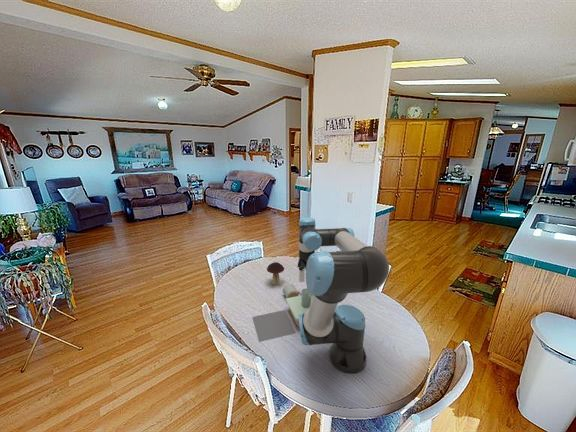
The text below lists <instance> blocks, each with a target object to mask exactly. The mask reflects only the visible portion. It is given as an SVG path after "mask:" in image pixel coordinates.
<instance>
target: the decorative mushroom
mask: <svg viewBox="0 0 576 432" xmlns="http://www.w3.org/2000/svg"><path fill="white" fill-rule="evenodd" d="M266 271H267V273H270V274H272V283H273V285H274V286H275V285H279V283H280V274H281V273H283V272H284V271H285V267H284V265H282V264H281V263H280V262H278V261H277V262H275V261H274V262H272V263H270V264H269V265H268V266H267V267H266Z"/></svg>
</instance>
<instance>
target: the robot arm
mask: <svg viewBox="0 0 576 432" xmlns="http://www.w3.org/2000/svg"><path fill="white" fill-rule="evenodd" d="M321 247H337V248H338V249H339V250H340V251H320V252H316V251H317V250H318V249H320V248H321ZM298 248H299V249H298V262H297V265H296V266H297V268H298V279H299V280H298V282H299V283H303V282H305V285H306V289H308V291H309V297H311V296H312V299H311V304H310V308H309V309H308V310H307V311H306V312H305V313H302V314H299V327H300V328H299V334H300V341H301V343H302V345H303V346H313V345H314V346H315V345H316V346H317V345H327V344H331V346H330V348H329V361H330V363H331V364H332V365H333V366H334V367H335V368H336V369H337V370H338V371H341V372H343V373H346V374H356V373H360V372H362V370H363V369H364V368H365V367H366V364H367V353H366V350H365V347H364V339H365V329H366V317H365V314H364V312H363V311H361V309H359V308H357V307H356V306H353V305H350V304H340V305H339V303H341V302H342V301H344V300H345V299H346V297H347V296H348V294H356V293H357V294H358V293H370V292H372V291H375V290H376V289H378V288H380V287H381V286H382V285H383V284H384V283H385V282H386V281H387V278H388V276H389V271H390V264H389V261H388V258H387V256H386V255H385V253H383V252H382V251H381V250H379V249H378V248H376V247H375V246H372V245H367V244H365V243H364V242H362V241H361V240H360V239H358V238H357V237H356V236H355V232H354V230H353V229H352V228H350V227H340V228H339V227H337V228H318V229H317V228H316V220H315V218H313V217H311V216H310V217H308V216H307V217H305V216H304V217H301V218H299V221H298Z"/></svg>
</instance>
